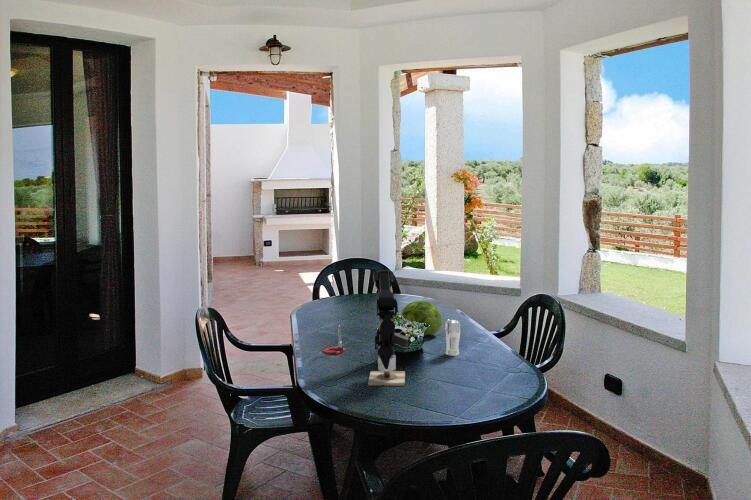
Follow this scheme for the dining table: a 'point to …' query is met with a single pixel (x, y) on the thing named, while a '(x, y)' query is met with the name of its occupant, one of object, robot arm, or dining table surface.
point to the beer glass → (452, 337)
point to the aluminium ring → (391, 364)
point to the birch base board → (394, 380)
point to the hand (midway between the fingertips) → (386, 366)
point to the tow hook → (340, 348)
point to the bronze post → (386, 374)
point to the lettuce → (424, 315)
